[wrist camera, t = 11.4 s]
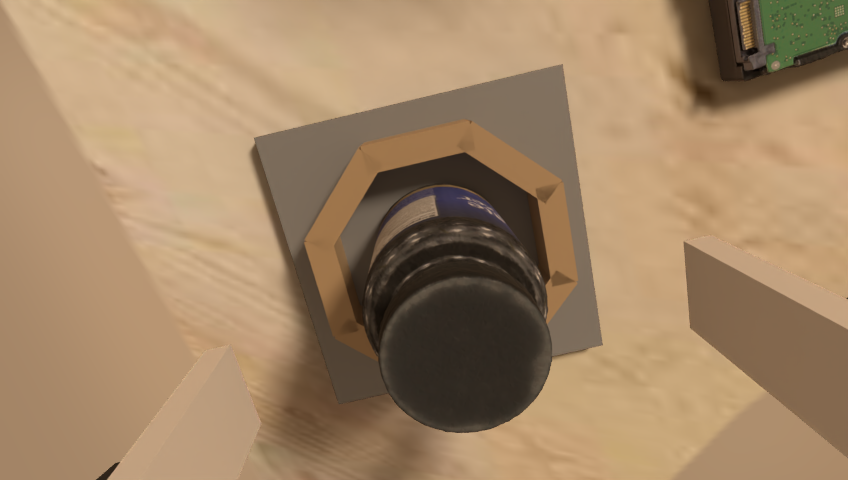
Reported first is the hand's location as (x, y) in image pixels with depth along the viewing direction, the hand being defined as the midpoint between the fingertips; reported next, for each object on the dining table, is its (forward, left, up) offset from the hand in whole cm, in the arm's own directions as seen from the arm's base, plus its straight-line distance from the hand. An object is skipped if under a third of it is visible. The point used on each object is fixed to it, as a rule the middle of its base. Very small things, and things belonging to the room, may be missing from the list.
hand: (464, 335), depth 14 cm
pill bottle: (0, 0, -10) cm, 10 cm away
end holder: (0, 0, -11) cm, 11 cm away
